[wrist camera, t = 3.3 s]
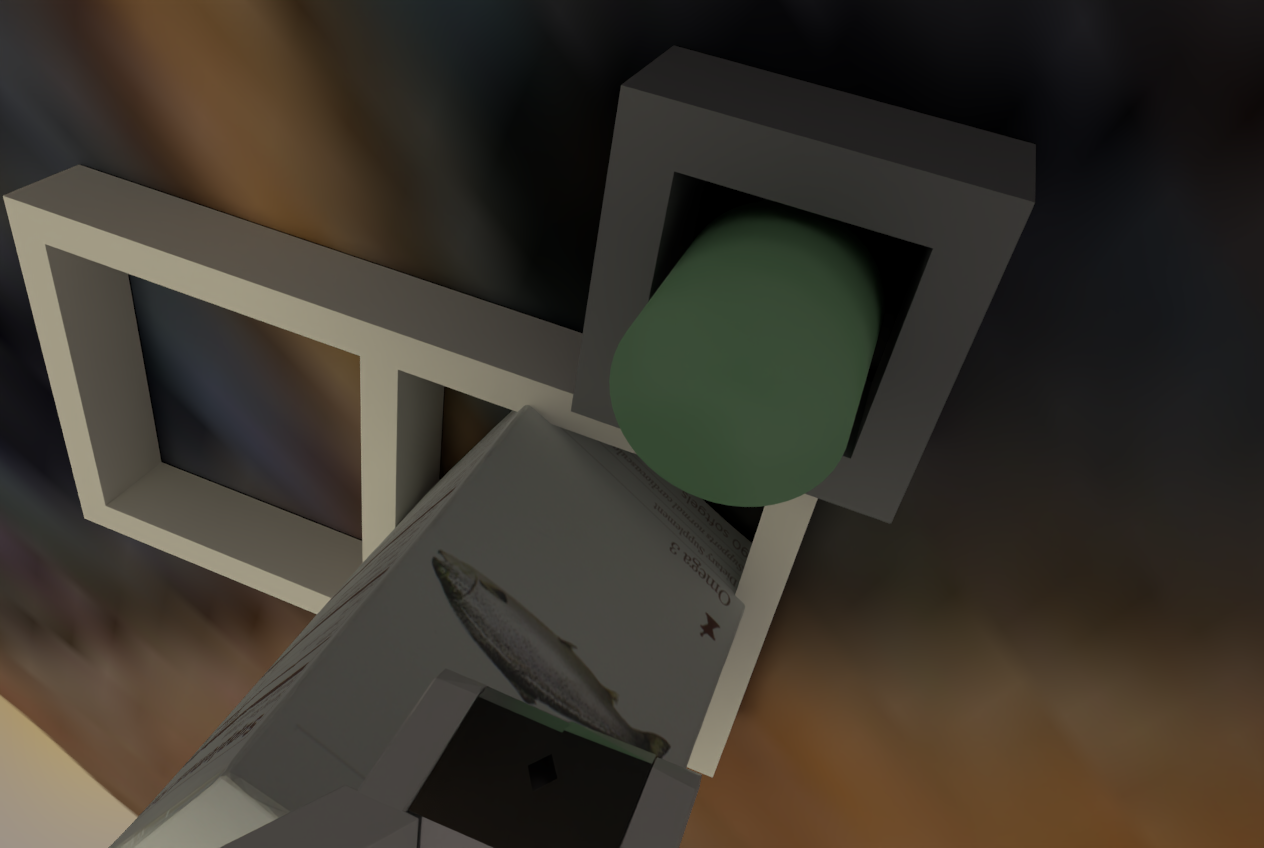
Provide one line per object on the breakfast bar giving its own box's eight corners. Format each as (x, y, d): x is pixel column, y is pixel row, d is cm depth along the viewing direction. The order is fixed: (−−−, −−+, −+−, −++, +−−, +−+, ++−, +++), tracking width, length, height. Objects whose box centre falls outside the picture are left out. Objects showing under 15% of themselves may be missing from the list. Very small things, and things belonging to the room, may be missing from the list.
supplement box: (776, 551, 24) (596, 1083, 14) (600, 654, 29) (371, 1113, 19) (566, 347, 23) (214, 776, 13) (416, 488, 28) (70, 887, 18)
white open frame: (140, 474, 32) (84, 518, 30) (79, 164, 26) (2, 195, 24) (734, 711, 28) (712, 777, 27) (842, 420, 22) (824, 481, 20)
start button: (702, 173, 18) (630, 259, 15) (915, 236, 17) (886, 341, 14) (663, 353, 20) (594, 460, 17) (848, 414, 19) (811, 538, 16)
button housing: (673, 45, 19) (621, 85, 16) (1036, 144, 17) (1034, 202, 15) (618, 345, 23) (570, 411, 20) (907, 442, 22) (891, 524, 19)
